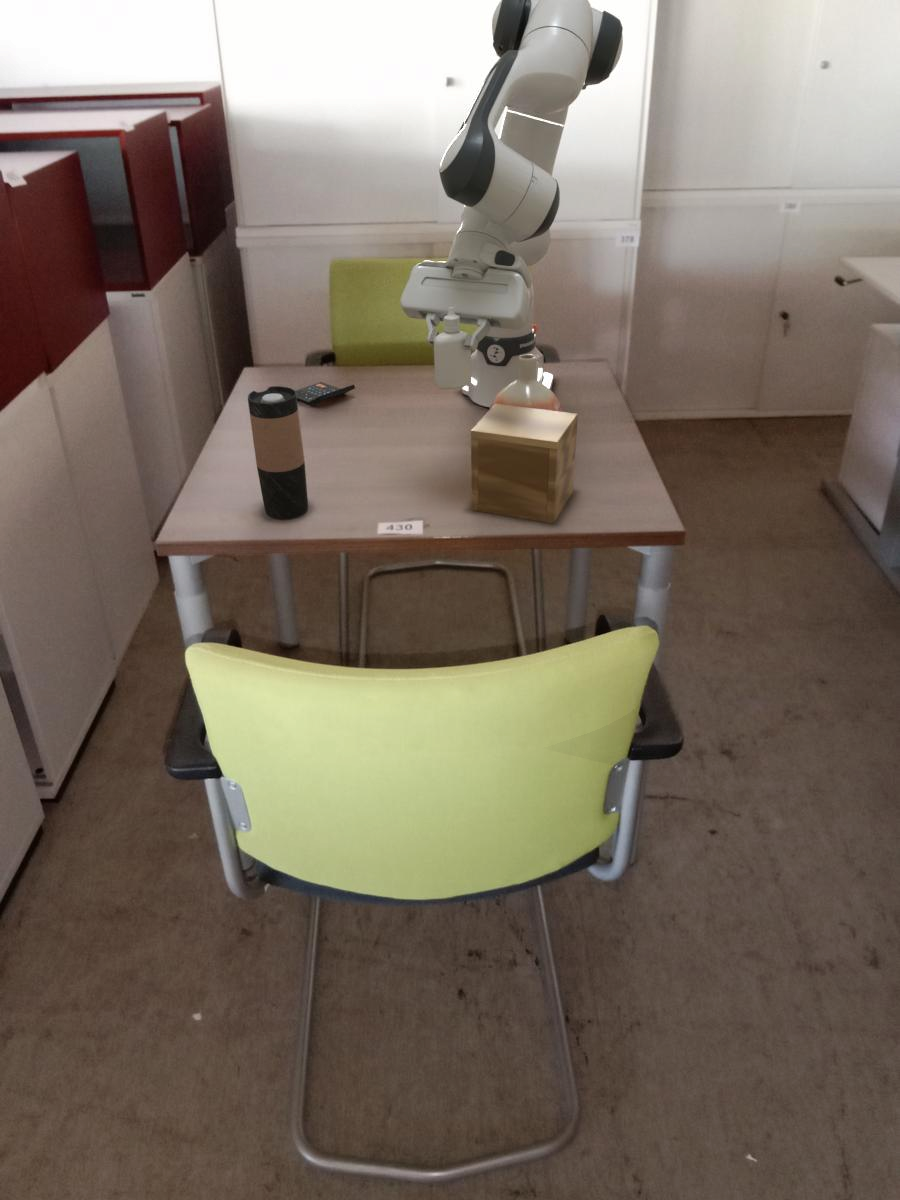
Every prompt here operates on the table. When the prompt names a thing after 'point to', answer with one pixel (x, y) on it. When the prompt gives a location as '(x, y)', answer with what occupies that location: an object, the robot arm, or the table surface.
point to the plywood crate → (523, 462)
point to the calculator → (320, 393)
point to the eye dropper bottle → (451, 355)
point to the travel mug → (279, 452)
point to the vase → (527, 389)
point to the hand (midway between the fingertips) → (451, 346)
